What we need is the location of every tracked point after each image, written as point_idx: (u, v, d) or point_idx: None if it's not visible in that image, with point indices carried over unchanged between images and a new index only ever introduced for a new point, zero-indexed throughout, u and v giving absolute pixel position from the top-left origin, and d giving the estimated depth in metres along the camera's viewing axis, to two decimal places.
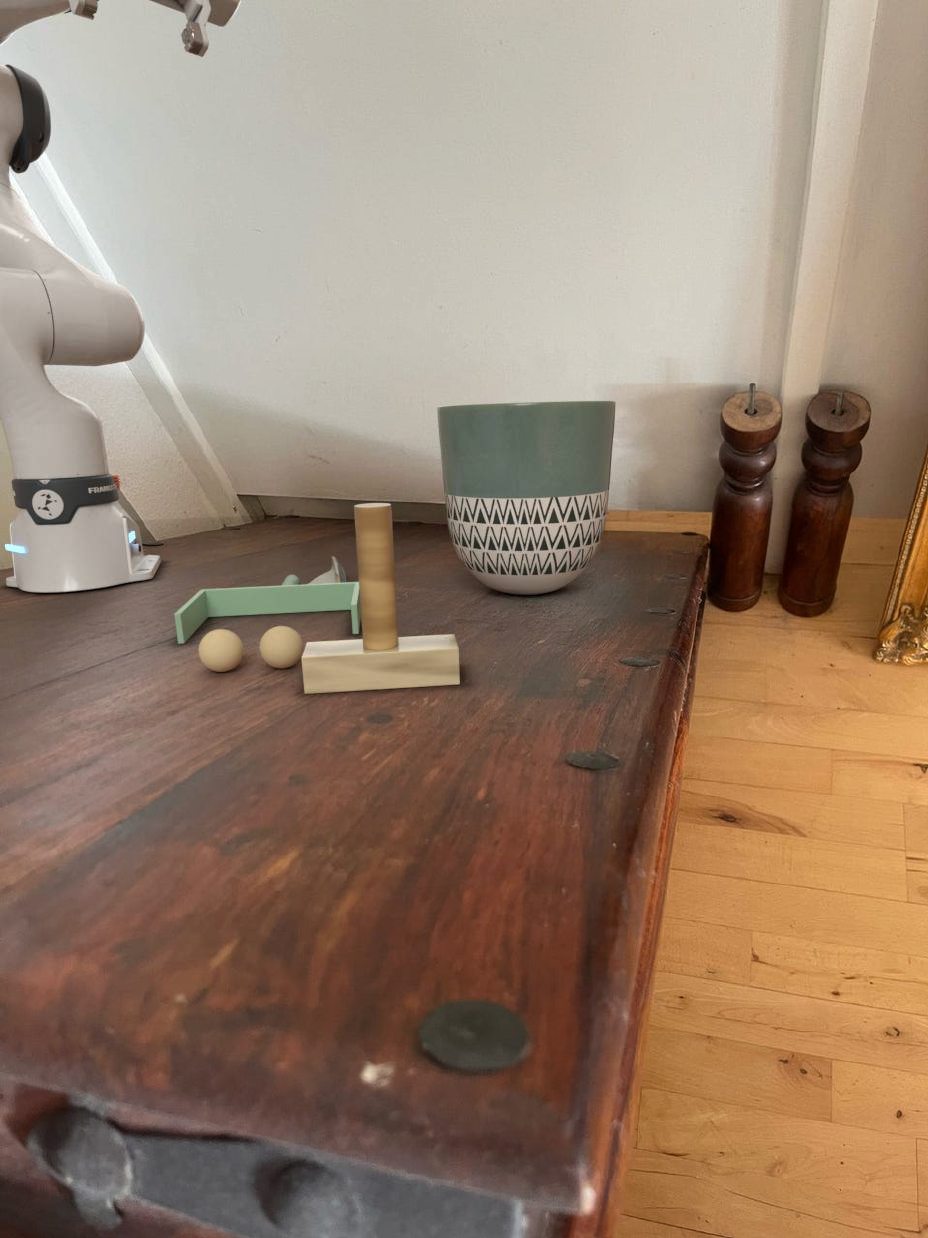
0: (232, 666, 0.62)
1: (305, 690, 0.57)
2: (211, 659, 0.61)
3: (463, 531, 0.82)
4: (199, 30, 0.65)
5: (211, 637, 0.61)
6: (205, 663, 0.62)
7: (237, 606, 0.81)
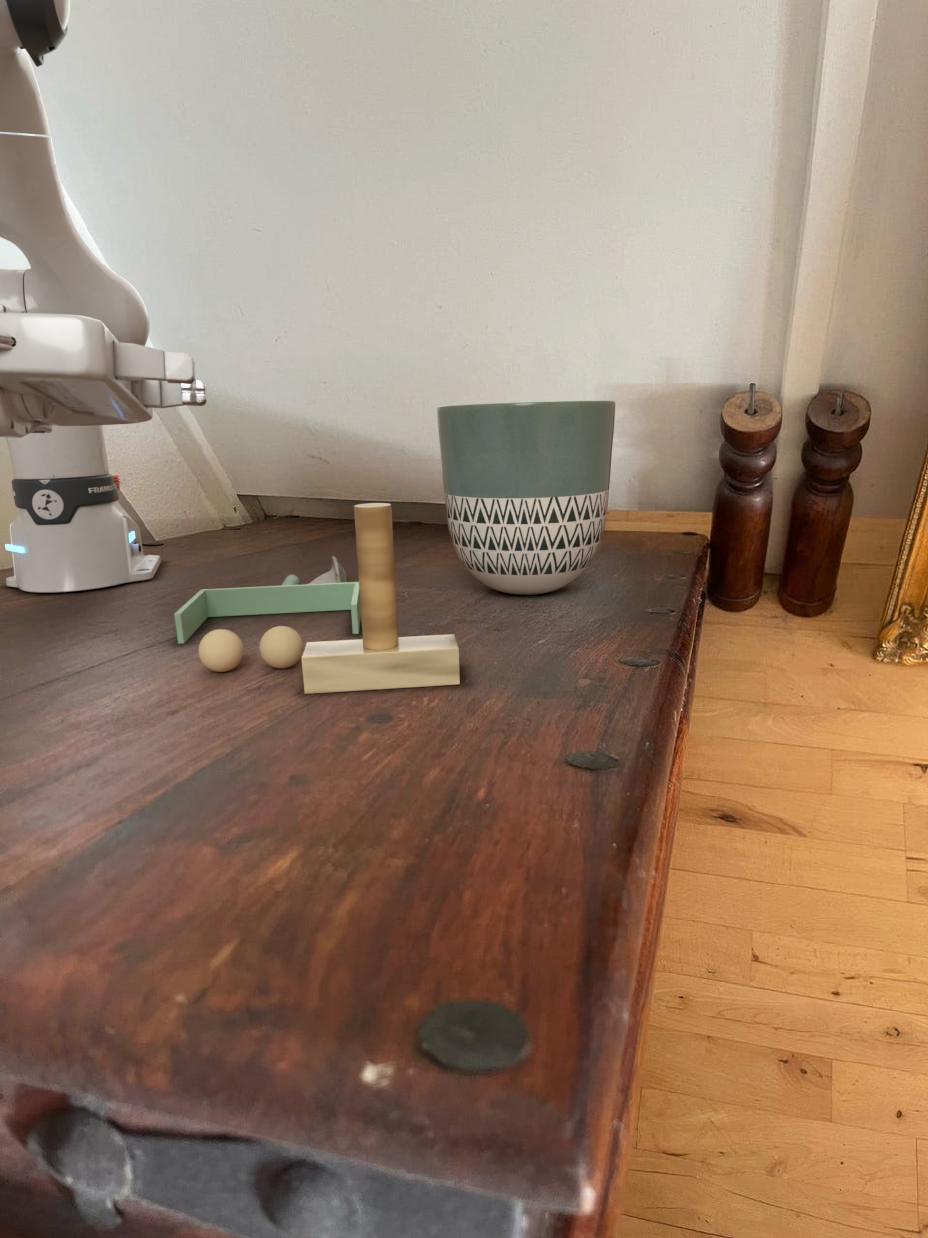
0: (232, 666, 0.62)
1: (305, 690, 0.57)
2: (211, 659, 0.61)
3: (463, 531, 0.82)
4: (177, 381, 0.50)
5: (211, 637, 0.61)
6: (205, 663, 0.62)
7: (237, 606, 0.81)
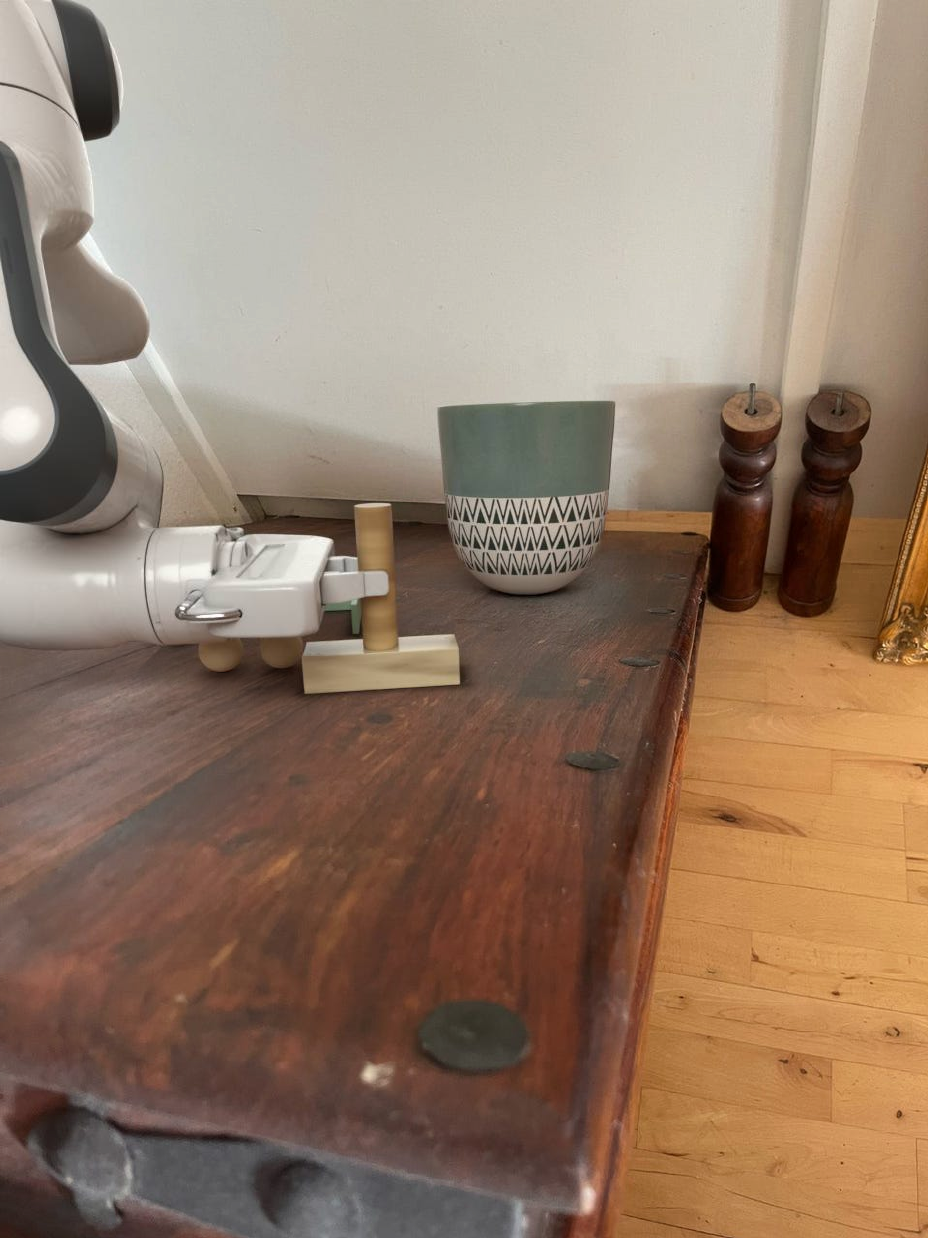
0: (232, 666, 0.62)
1: (305, 690, 0.57)
2: (211, 659, 0.61)
3: (463, 531, 0.82)
4: None
5: None
6: (205, 663, 0.62)
7: None
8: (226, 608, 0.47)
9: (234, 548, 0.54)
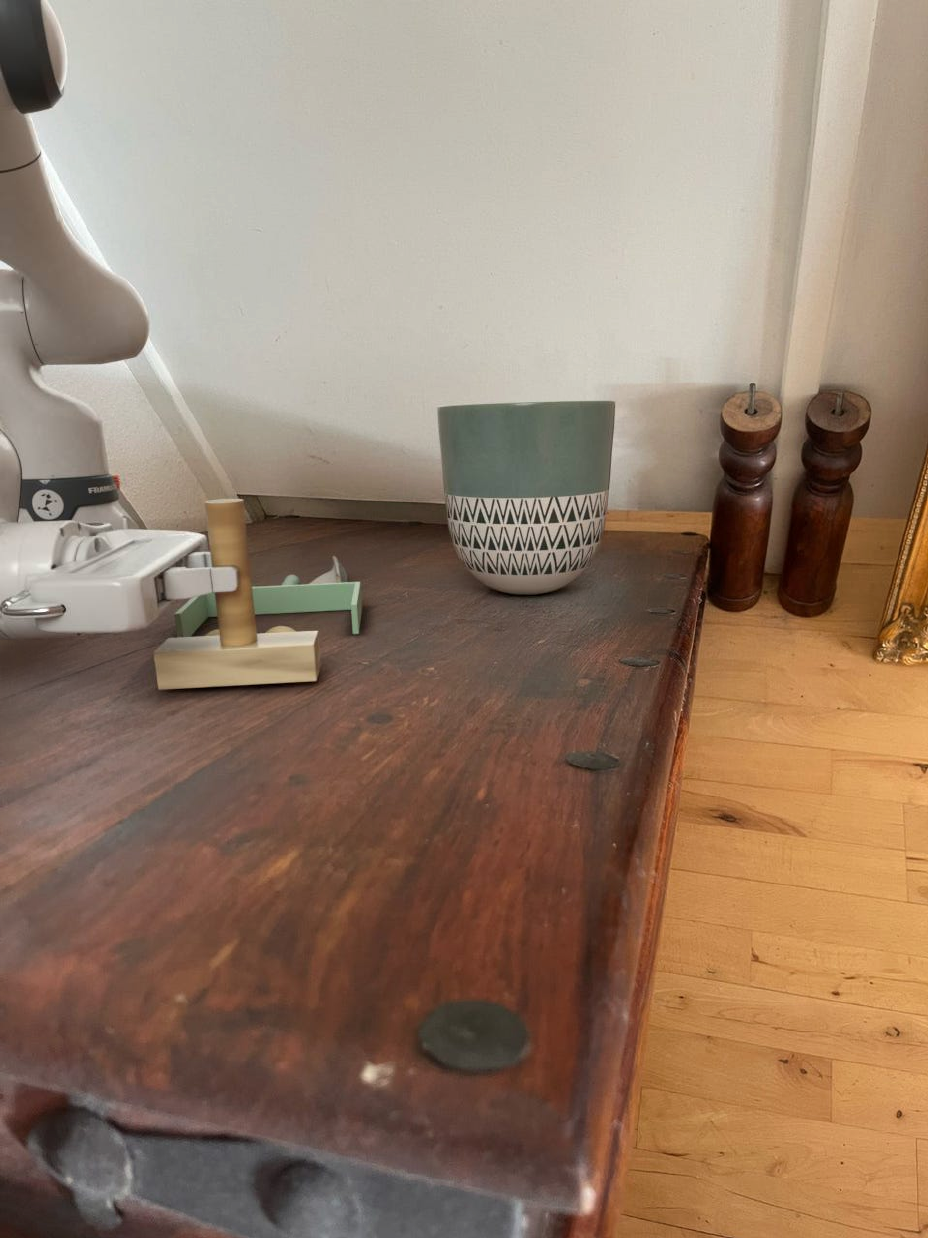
0: None
1: (159, 686, 0.57)
2: None
3: (463, 531, 0.82)
4: None
5: None
6: None
7: None
8: (49, 603, 0.47)
9: (81, 543, 0.54)
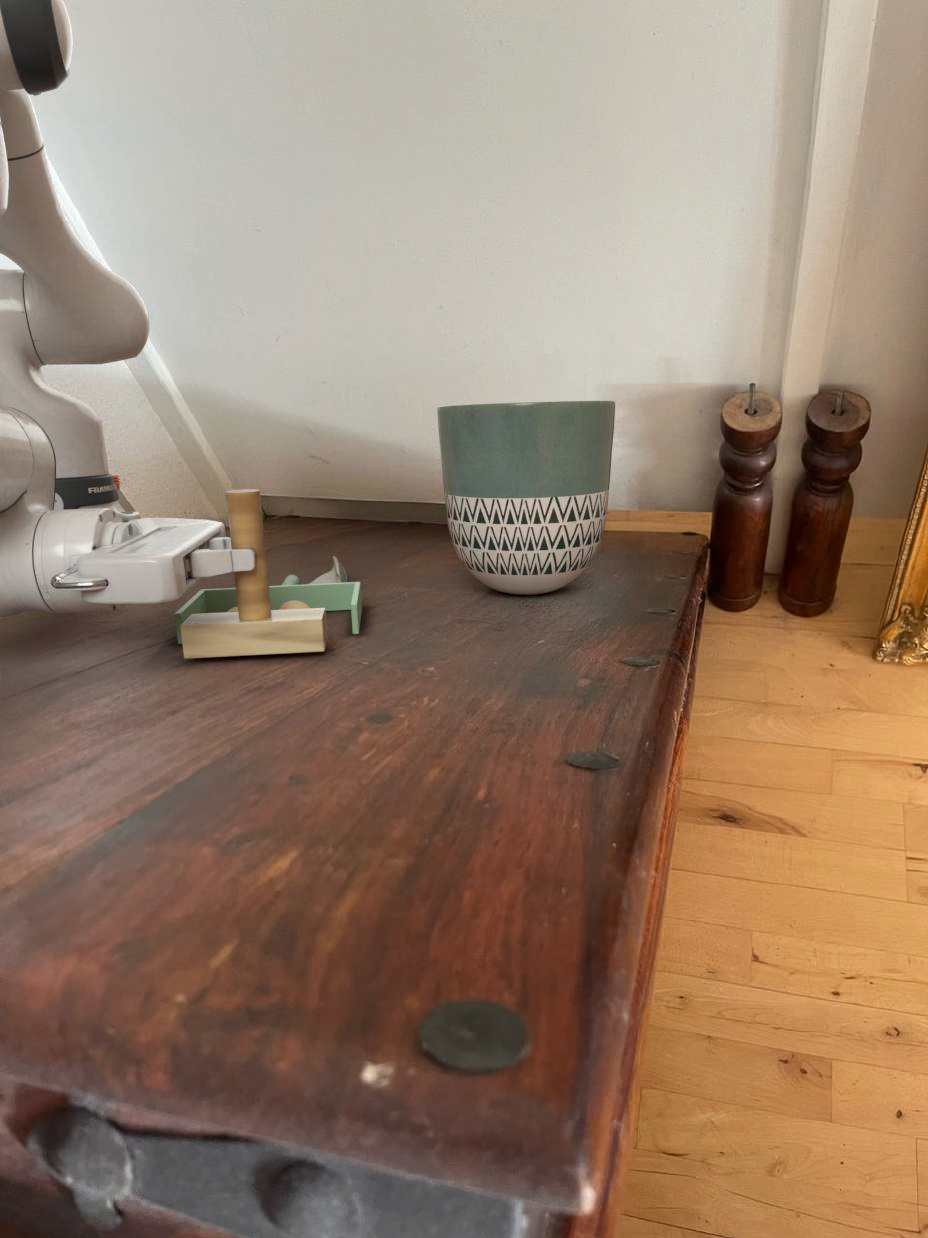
0: None
1: (184, 655, 0.64)
2: None
3: (463, 531, 0.82)
4: None
5: None
6: None
7: (237, 606, 0.81)
8: (94, 577, 0.54)
9: (117, 528, 0.62)
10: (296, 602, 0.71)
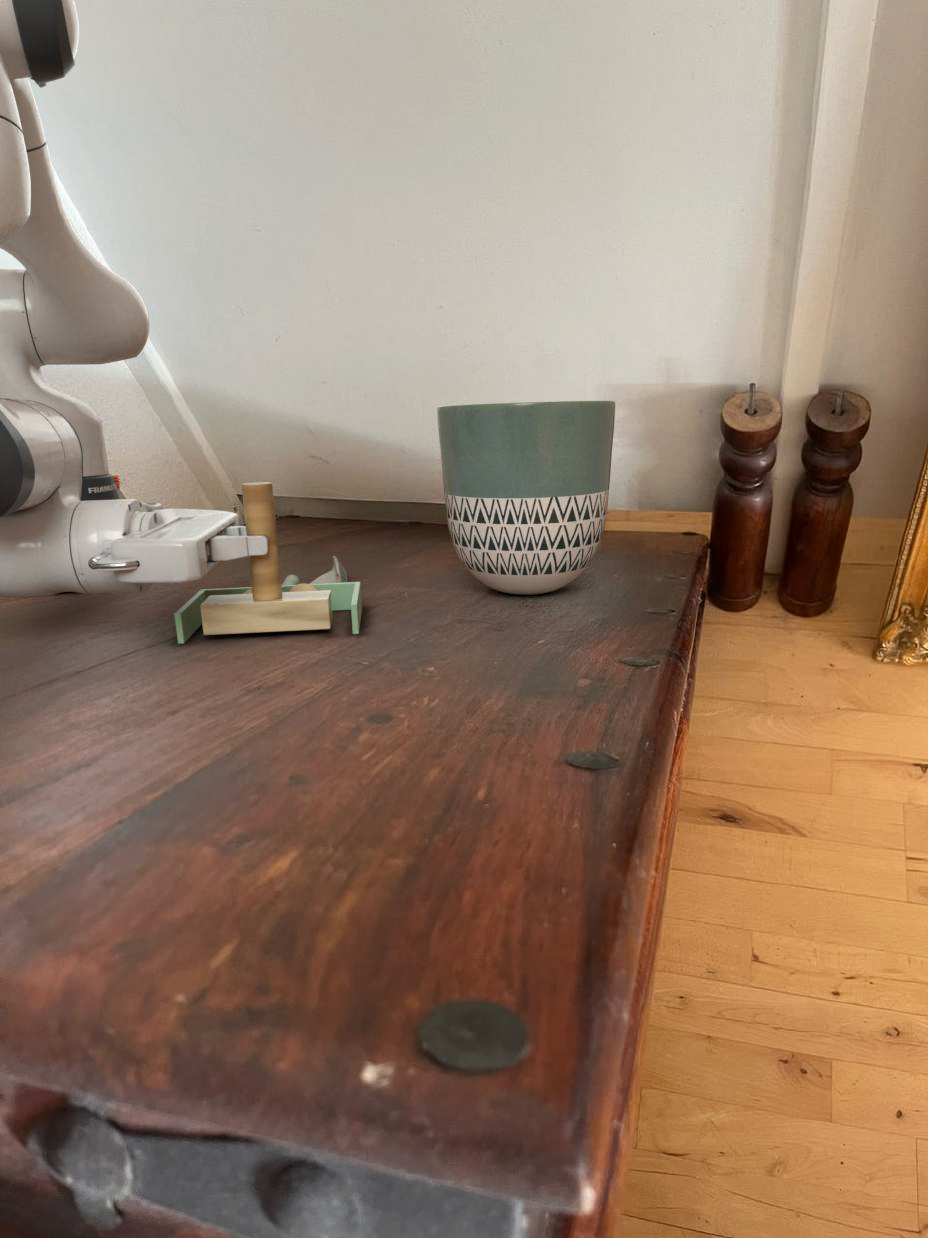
0: None
1: (204, 632, 0.71)
2: None
3: (463, 531, 0.82)
4: None
5: None
6: None
7: None
8: (127, 559, 0.61)
9: (144, 516, 0.69)
10: None
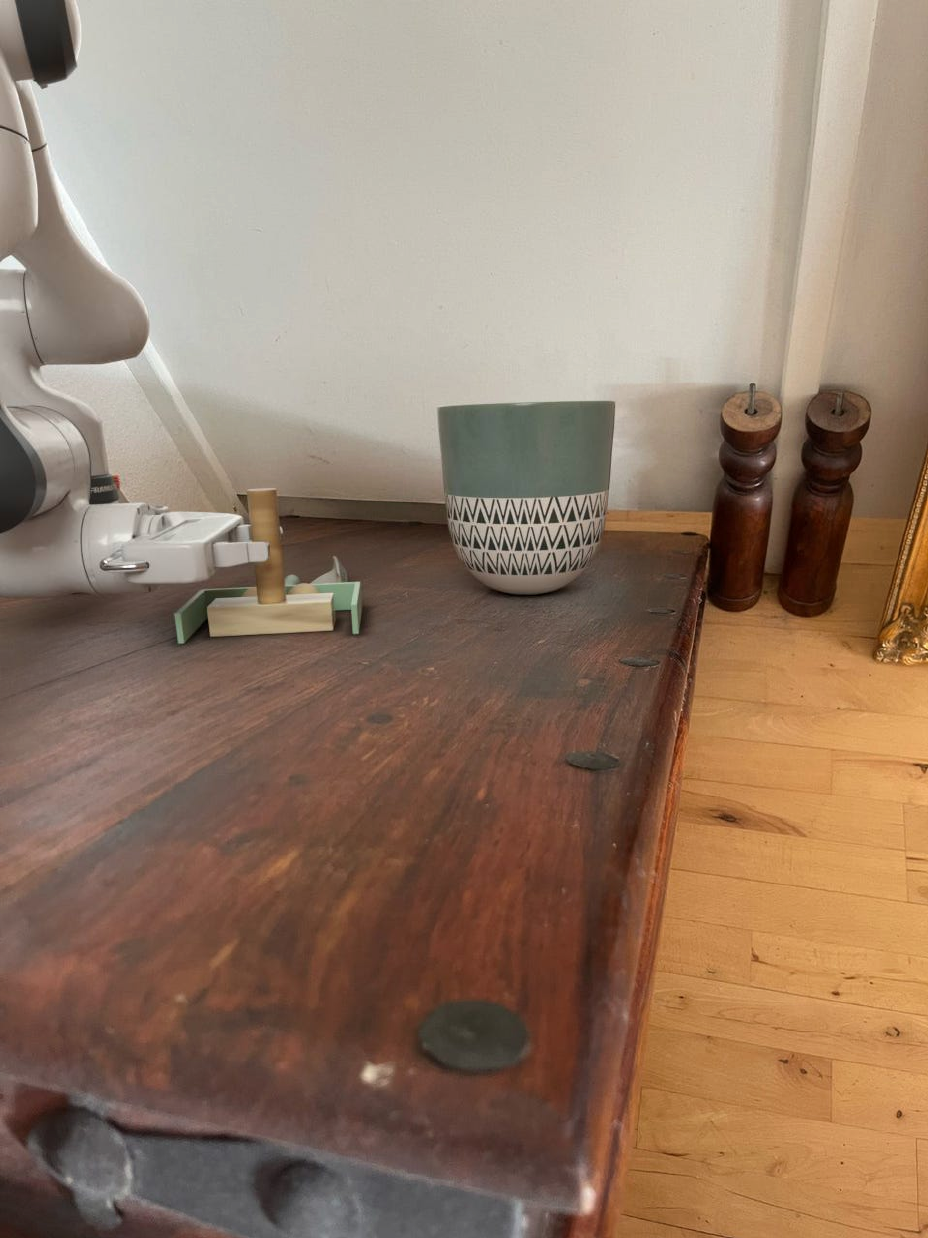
0: None
1: (210, 634, 0.73)
2: None
3: (463, 531, 0.82)
4: None
5: None
6: None
7: None
8: (137, 561, 0.63)
9: (152, 519, 0.71)
10: None
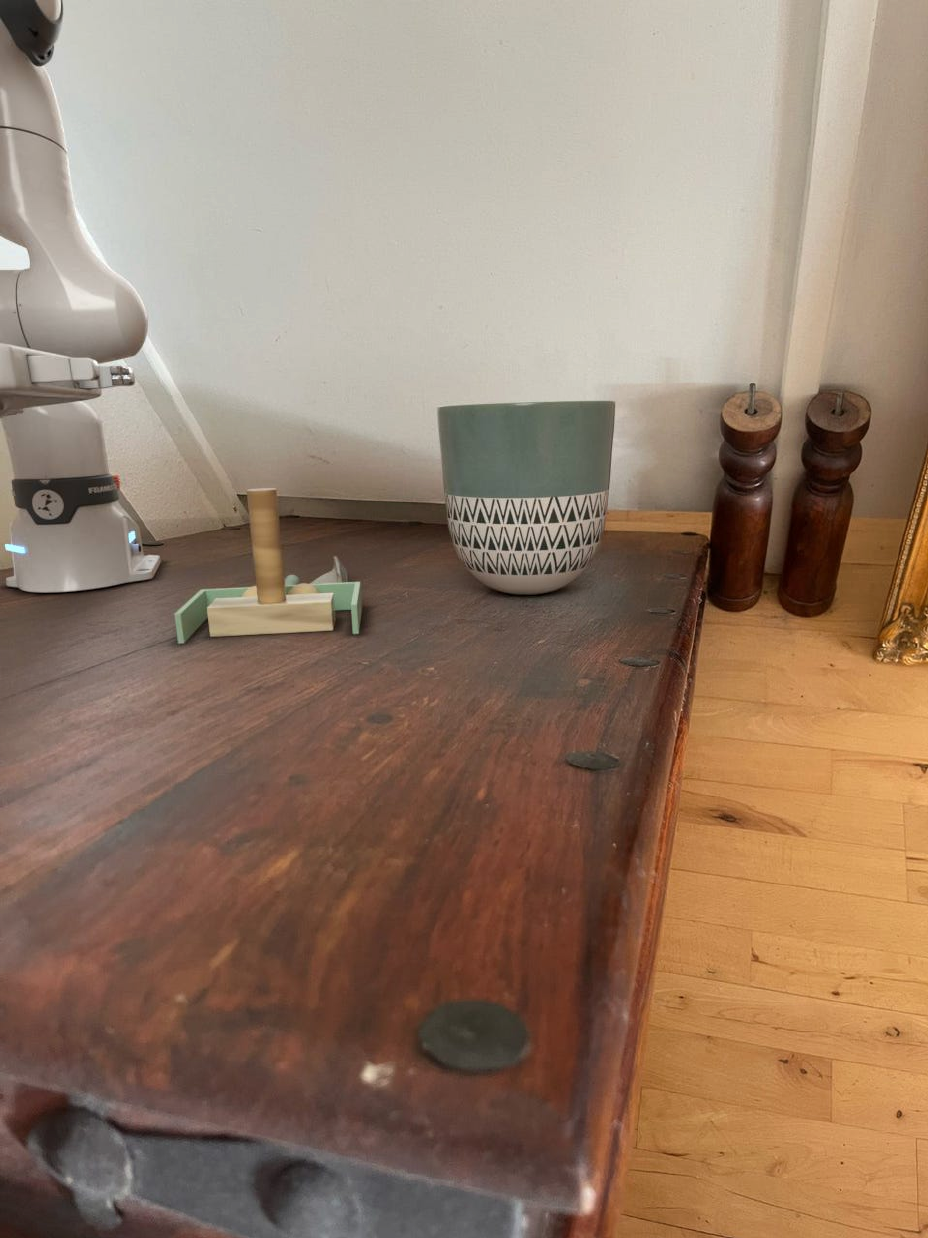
0: None
1: (210, 634, 0.73)
2: None
3: (463, 531, 0.82)
4: (84, 380, 0.64)
5: None
6: None
7: None
8: None
9: None
10: None
